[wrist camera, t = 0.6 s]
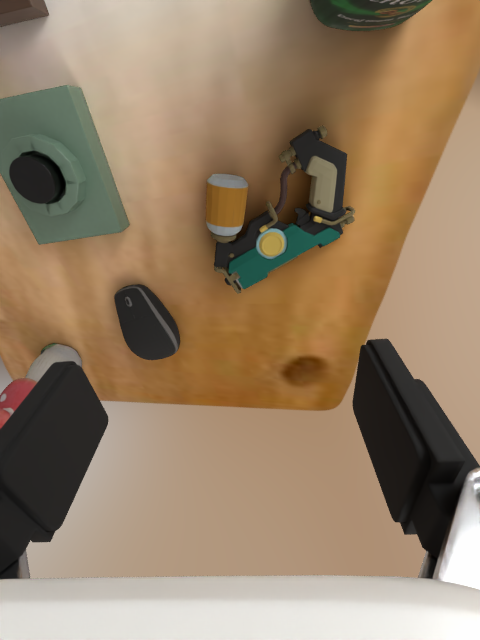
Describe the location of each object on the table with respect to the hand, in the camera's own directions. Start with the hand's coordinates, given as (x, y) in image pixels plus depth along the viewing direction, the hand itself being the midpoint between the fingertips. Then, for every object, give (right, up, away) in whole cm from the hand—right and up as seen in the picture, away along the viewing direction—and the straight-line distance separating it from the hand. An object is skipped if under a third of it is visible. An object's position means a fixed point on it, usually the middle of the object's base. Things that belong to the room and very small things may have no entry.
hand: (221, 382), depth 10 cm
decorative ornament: (-27, -4, +37) cm, 46 cm away
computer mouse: (-12, +2, +33) cm, 35 cm away
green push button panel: (-18, +18, +22) cm, 34 cm away
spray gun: (+5, +14, +24) cm, 29 cm away
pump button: (-18, +16, +19) cm, 31 cm away
